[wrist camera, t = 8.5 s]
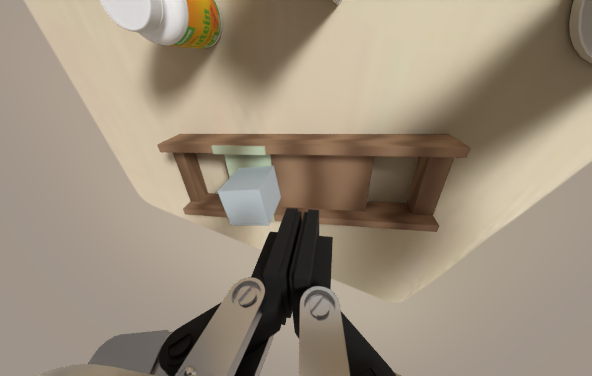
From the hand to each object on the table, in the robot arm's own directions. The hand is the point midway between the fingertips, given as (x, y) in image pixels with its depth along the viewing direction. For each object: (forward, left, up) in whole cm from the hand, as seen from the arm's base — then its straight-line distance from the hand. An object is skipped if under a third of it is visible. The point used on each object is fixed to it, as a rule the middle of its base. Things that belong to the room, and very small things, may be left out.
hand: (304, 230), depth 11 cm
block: (+8, +7, -16) cm, 19 cm away
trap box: (+3, +6, -18) cm, 20 cm away
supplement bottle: (+13, -12, -19) cm, 26 cm away
